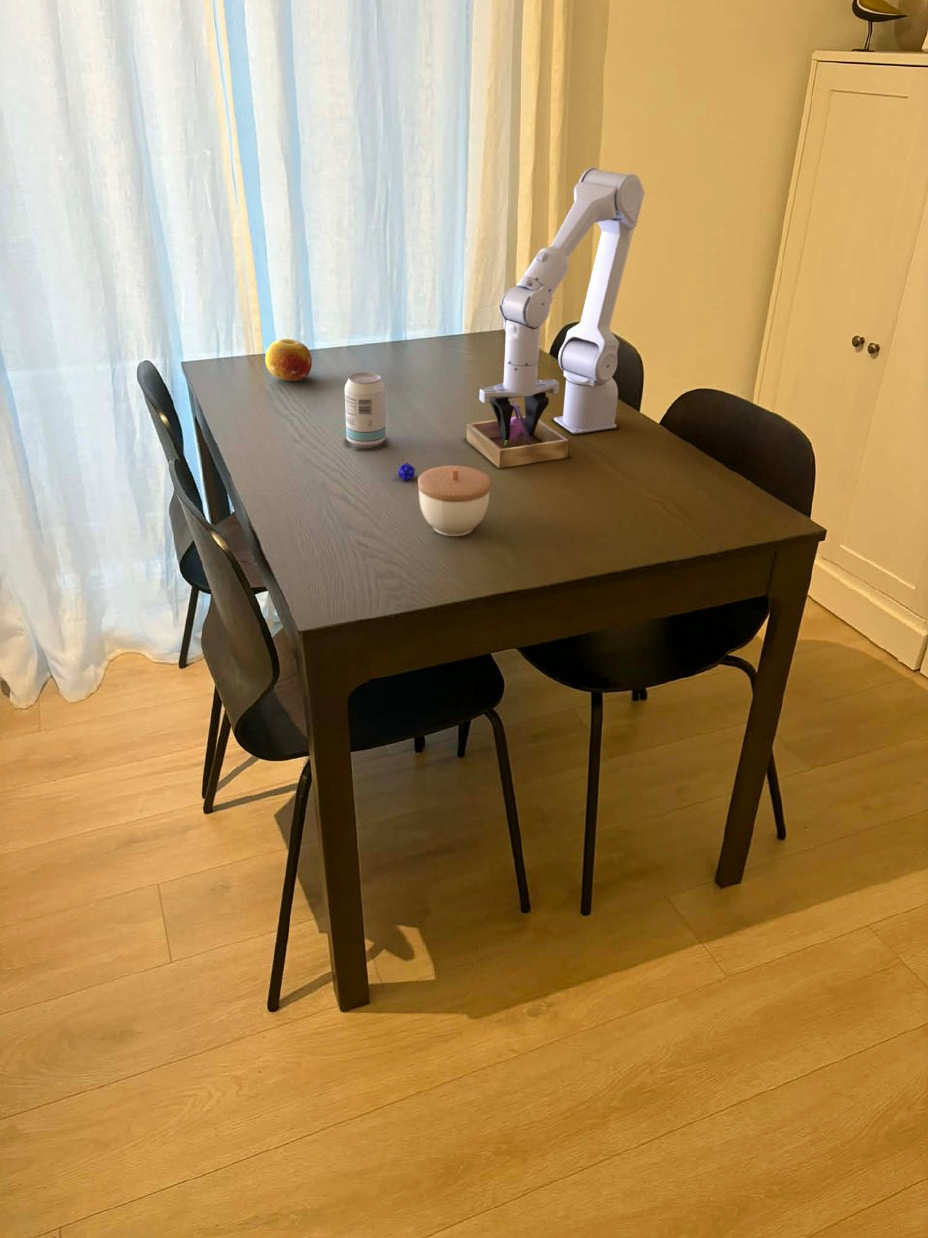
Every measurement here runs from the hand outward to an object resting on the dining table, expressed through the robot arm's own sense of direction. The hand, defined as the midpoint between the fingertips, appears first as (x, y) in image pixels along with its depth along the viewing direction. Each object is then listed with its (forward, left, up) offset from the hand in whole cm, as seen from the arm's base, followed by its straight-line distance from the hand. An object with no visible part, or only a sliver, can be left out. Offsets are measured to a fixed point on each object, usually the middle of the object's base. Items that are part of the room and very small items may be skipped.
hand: (517, 436), depth 174 cm
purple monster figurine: (0, 0, -2) cm, 2 cm away
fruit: (+27, -50, -3) cm, 57 cm away
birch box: (0, 0, -2) cm, 2 cm away
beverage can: (+24, -12, -3) cm, 27 cm away
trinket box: (+23, +24, -3) cm, 33 cm away
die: (+23, +5, -3) cm, 24 cm away
